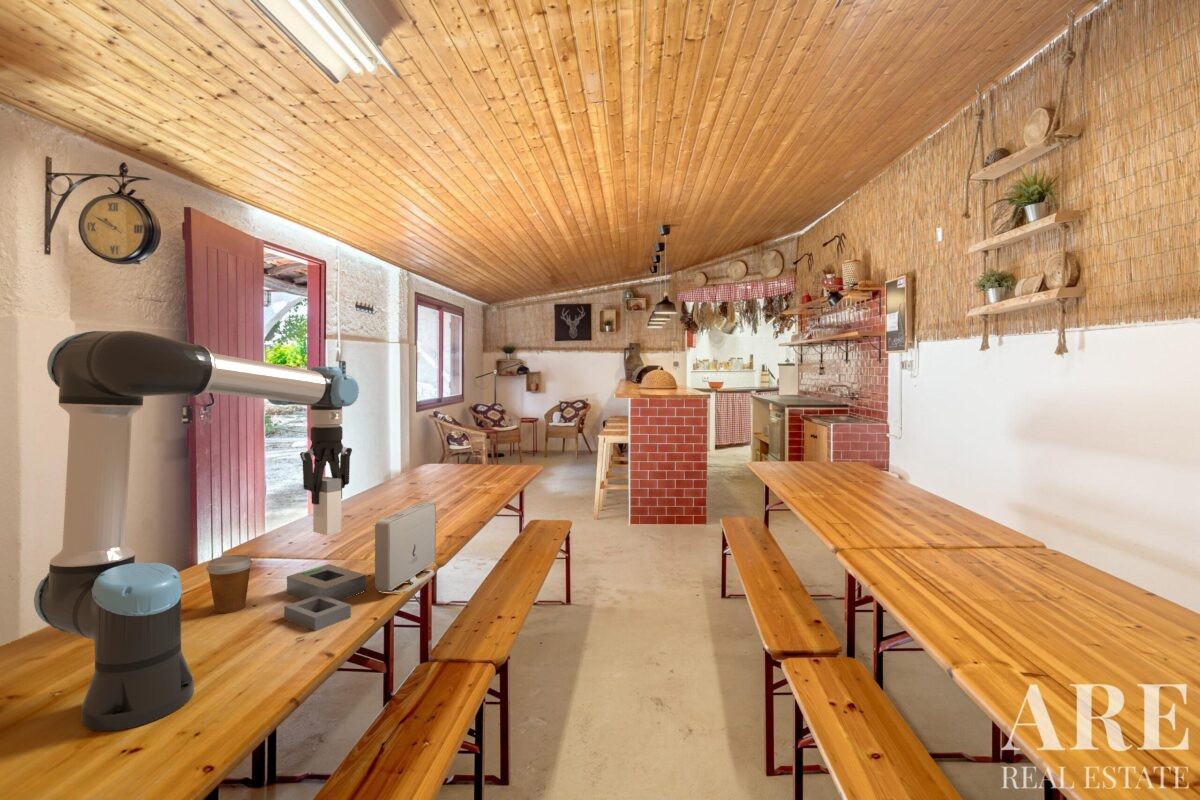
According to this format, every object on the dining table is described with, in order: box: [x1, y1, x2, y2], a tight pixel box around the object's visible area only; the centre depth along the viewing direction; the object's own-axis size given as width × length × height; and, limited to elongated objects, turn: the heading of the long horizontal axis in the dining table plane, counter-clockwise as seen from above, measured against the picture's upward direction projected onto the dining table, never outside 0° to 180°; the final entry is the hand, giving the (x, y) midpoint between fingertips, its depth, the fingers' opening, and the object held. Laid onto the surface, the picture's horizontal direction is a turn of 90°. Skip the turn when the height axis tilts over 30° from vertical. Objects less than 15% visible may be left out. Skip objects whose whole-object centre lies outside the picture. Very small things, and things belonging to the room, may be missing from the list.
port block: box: [286, 563, 367, 601], centre depth 152 cm, size 12×16×5 cm
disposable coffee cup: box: [205, 553, 253, 614], centre depth 141 cm, size 10×10×12 cm
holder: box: [283, 594, 352, 632], centre depth 136 cm, size 9×12×3 cm
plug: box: [312, 476, 342, 536], centre depth 151 cm, size 4×6×14 cm, turn 59°
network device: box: [374, 501, 437, 594], centre depth 161 cm, size 26×9×20 cm, turn 168°
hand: (327, 514), depth 151 cm, fingers closed on plug, 4 cm apart
